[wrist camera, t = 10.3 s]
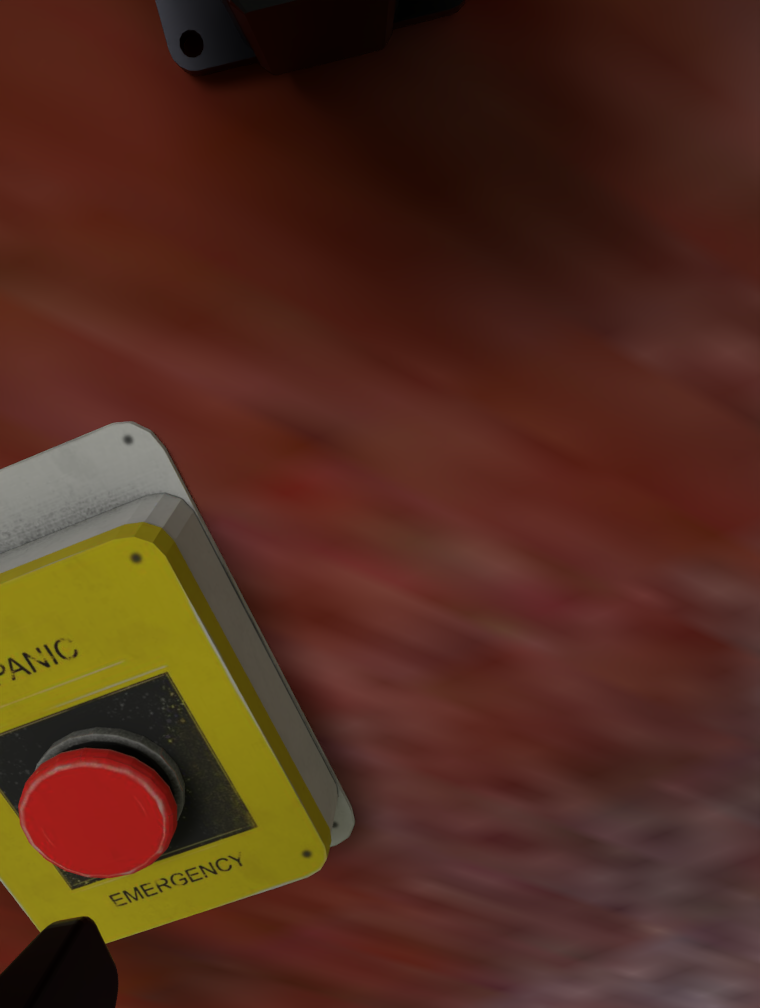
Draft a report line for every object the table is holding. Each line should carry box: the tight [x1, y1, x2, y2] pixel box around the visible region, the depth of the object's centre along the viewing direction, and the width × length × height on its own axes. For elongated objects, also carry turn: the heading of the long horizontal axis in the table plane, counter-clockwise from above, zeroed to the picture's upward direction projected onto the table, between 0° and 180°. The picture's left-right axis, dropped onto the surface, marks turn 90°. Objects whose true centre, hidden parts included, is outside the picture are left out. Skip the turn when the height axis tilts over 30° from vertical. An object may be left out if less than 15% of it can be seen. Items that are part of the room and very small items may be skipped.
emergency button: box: [0, 421, 355, 944], centre depth 19 cm, size 9×4×15 cm
